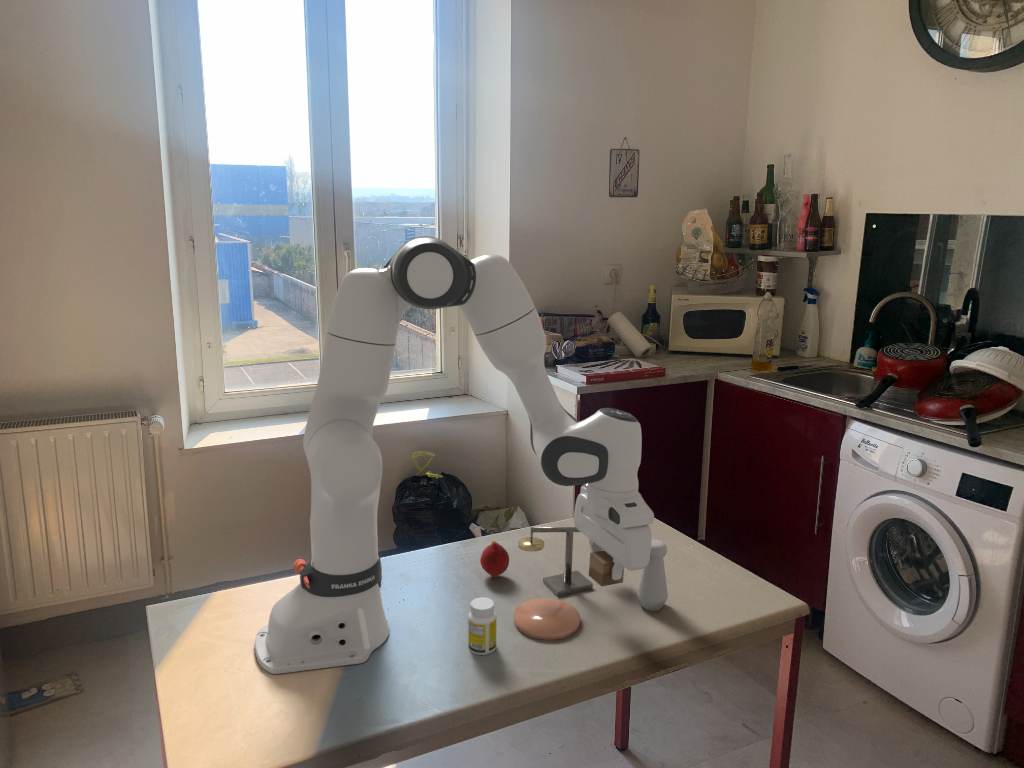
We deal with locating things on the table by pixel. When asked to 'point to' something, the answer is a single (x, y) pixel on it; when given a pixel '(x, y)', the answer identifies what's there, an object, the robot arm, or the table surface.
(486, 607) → the supplement bottle
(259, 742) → the table surface
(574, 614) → the dish
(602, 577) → the block
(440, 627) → the table surface
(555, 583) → the balance
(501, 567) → the onion
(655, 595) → the salt shaker
